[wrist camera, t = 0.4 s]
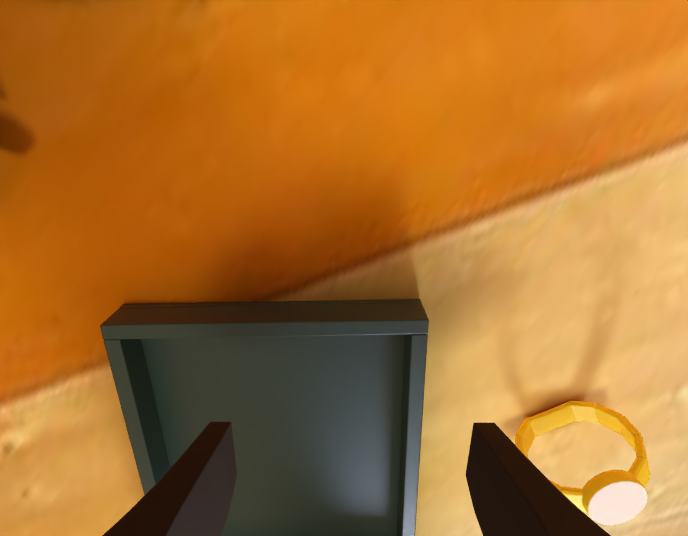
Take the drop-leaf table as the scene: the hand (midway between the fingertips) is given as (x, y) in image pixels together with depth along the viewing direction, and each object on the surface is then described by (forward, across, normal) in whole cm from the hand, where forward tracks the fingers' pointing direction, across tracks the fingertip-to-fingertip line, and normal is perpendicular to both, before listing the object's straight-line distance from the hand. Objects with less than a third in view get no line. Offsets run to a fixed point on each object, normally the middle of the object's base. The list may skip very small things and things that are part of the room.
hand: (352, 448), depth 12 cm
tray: (+10, +4, +10) cm, 14 cm away
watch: (+10, -12, +7) cm, 17 cm away
